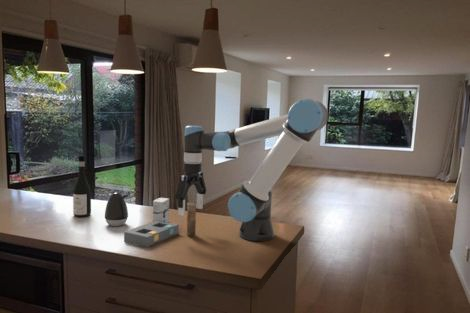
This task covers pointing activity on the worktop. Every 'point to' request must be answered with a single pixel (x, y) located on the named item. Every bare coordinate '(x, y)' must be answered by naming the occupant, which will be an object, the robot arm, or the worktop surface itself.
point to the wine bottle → (81, 192)
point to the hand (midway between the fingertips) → (190, 211)
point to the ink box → (161, 209)
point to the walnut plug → (191, 219)
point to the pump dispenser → (116, 210)
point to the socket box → (150, 233)
